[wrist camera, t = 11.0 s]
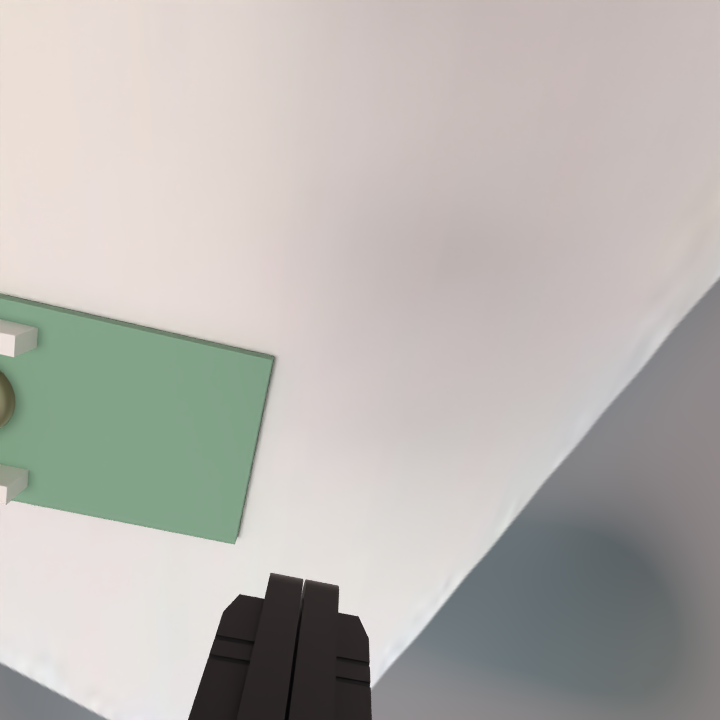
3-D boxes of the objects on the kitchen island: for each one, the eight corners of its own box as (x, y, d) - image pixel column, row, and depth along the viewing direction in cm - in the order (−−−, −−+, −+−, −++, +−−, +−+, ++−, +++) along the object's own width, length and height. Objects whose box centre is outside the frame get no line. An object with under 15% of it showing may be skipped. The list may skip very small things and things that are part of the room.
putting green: (-91, 273, 35) (-103, 274, 34) (274, 356, 37) (272, 360, 36) (-90, 472, 39) (-101, 478, 38) (237, 536, 41) (234, 544, 40)
